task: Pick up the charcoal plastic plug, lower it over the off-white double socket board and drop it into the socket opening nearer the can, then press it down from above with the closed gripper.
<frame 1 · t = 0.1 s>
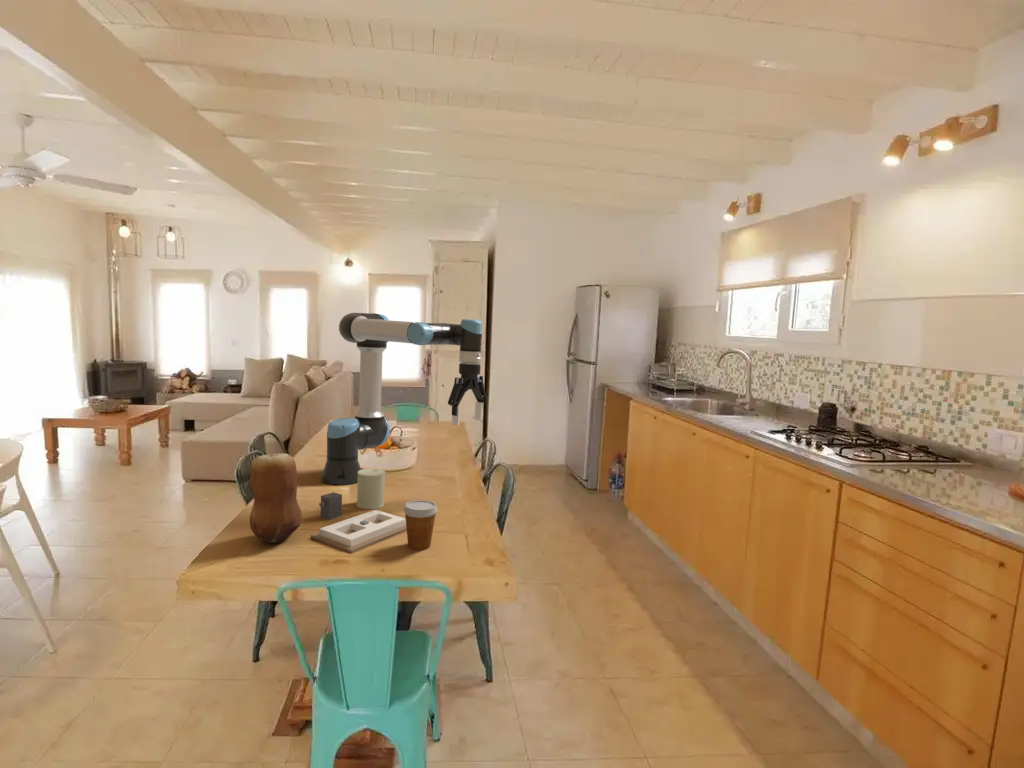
hand: (467, 422, 207), 28 cm above the table, tool pointing down, fingers open, 13 cm apart
plug: (331, 516, 184), on the table
butternut squash: (275, 541, 163), on the table
socket board: (364, 532, 172), on the table
disposable coffee cup: (419, 546, 165), on the table
can: (370, 505, 197), on the table
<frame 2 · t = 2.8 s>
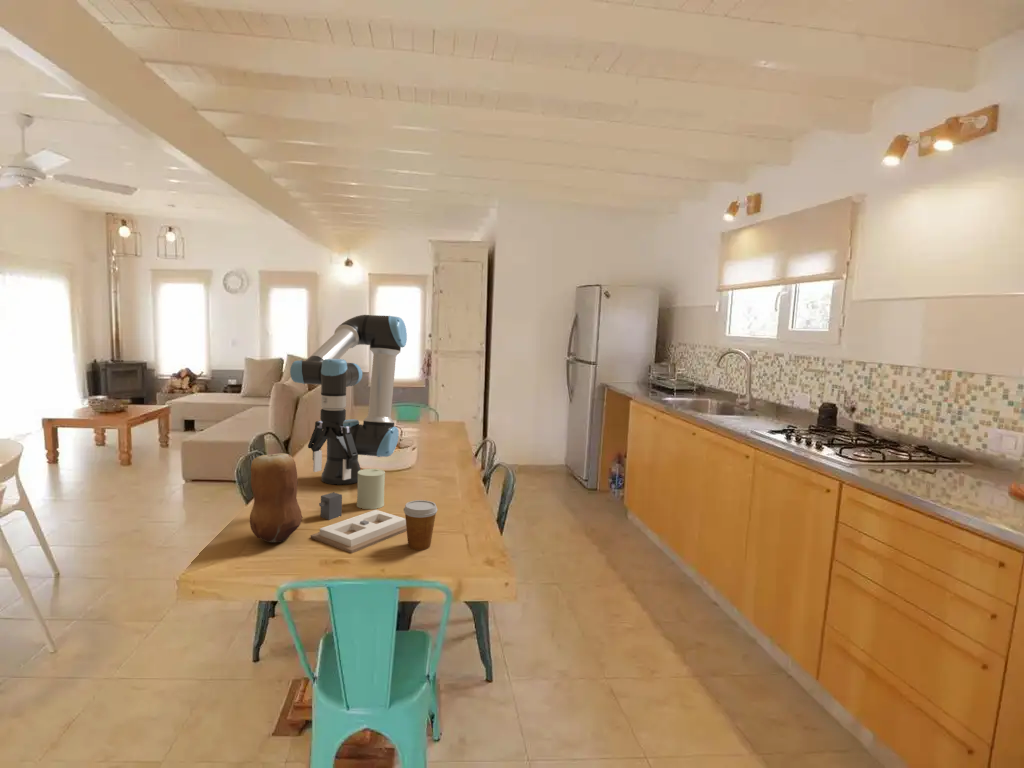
hand: (331, 475, 182), 14 cm above the table, tool pointing down, fingers open, 13 cm apart
nothing on the table moved.
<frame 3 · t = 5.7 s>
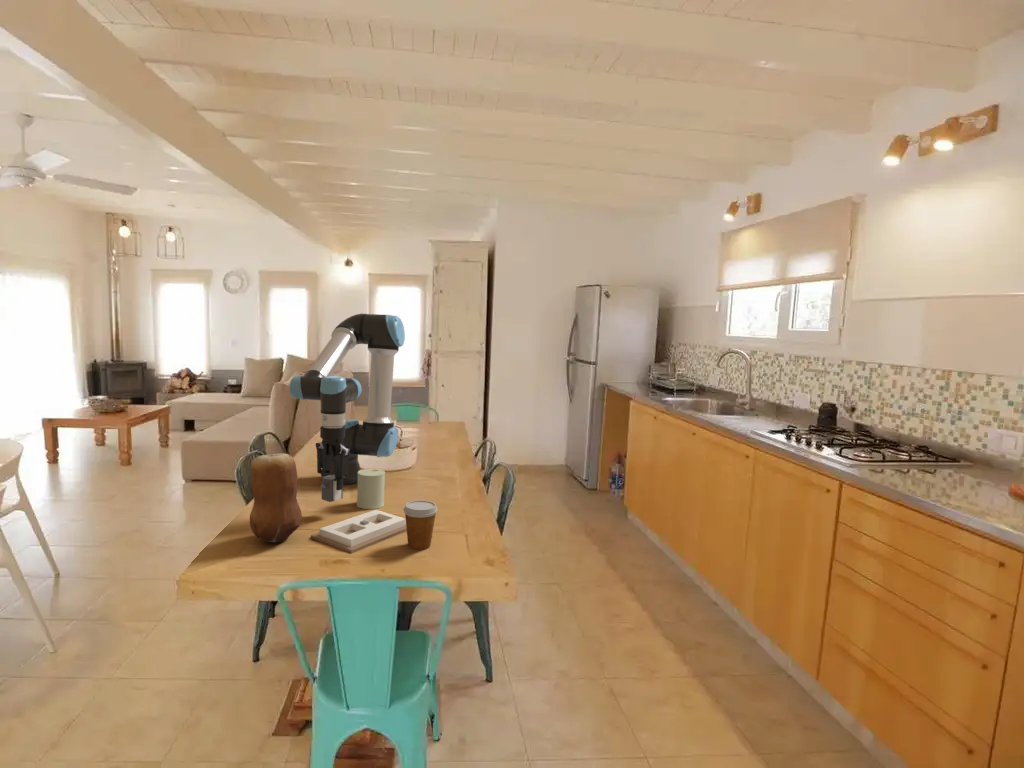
hand: (332, 497, 184), 6 cm above the table, tool pointing down, fingers closed on plug, 4 cm apart
plug: (332, 498, 184), point 6 cm above the table, touching gripper
everything else where it was.
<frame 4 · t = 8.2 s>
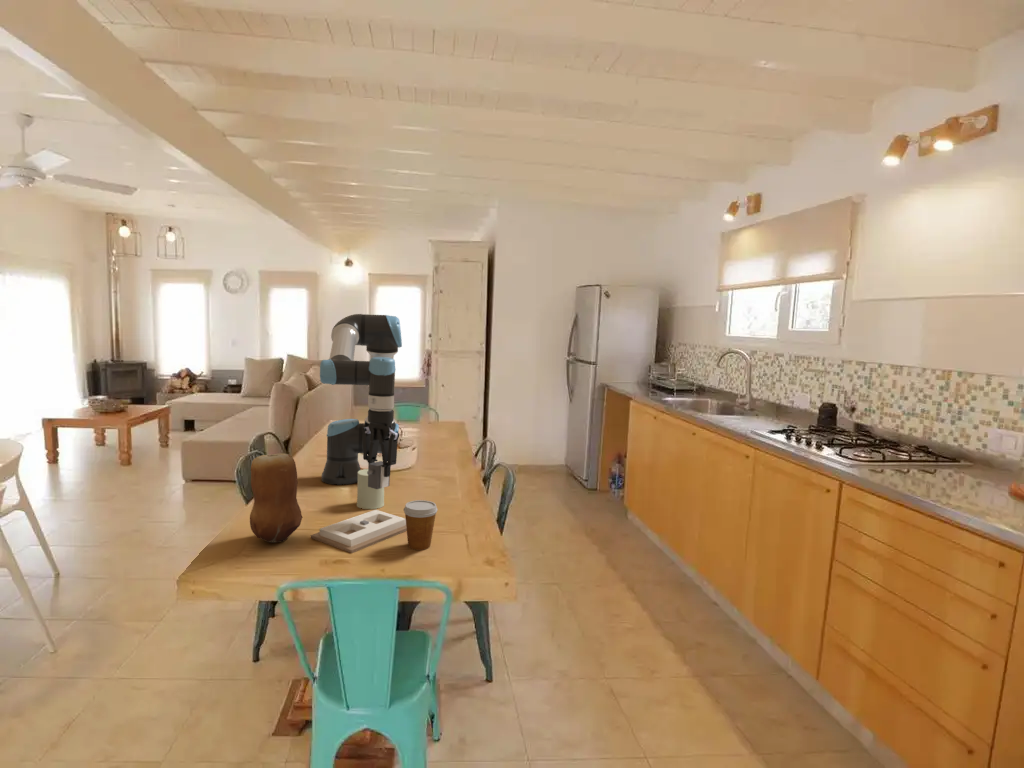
hand: (378, 485, 175), 13 cm above the table, tool pointing down, fingers closed on plug, 4 cm apart
plug: (378, 486, 175), point 13 cm above the table, touching gripper
everything else where it was.
when the fingers open (4 cm above the table, at t = 10.8 s): plug drops 2 cm, resting on socket board.
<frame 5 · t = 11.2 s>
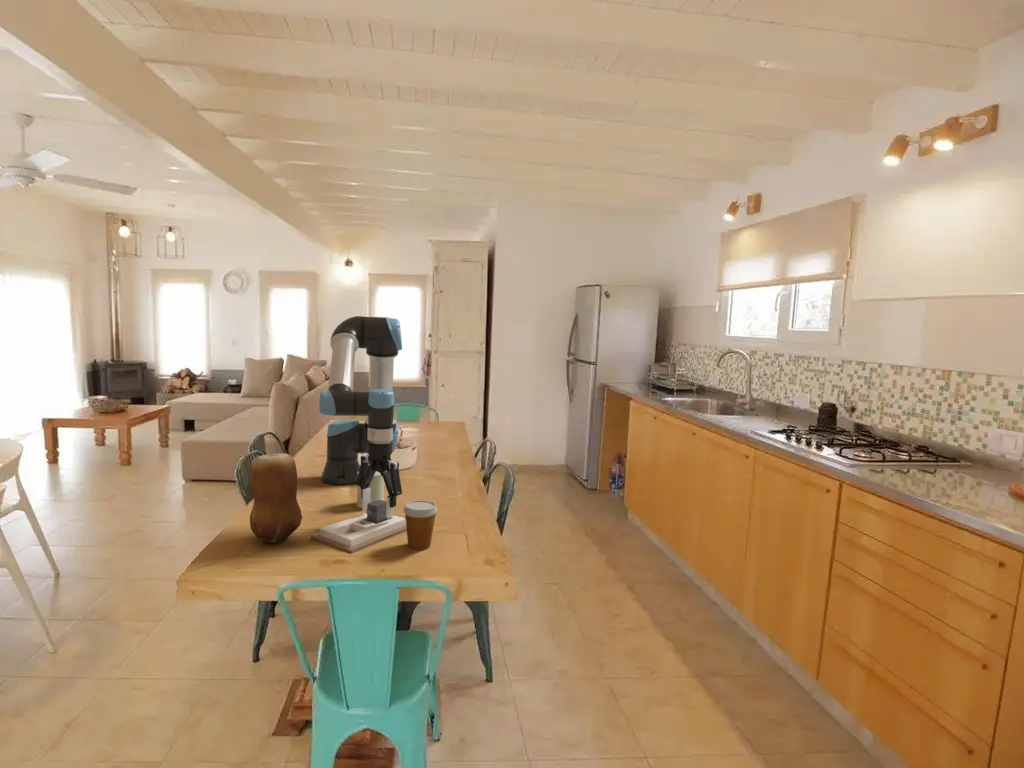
hand: (378, 513, 176), 5 cm above the table, tool pointing down, fingers open, 9 cm apart
plug: (377, 525, 177), point 1 cm above the table, touching socket board
everything else where it was.
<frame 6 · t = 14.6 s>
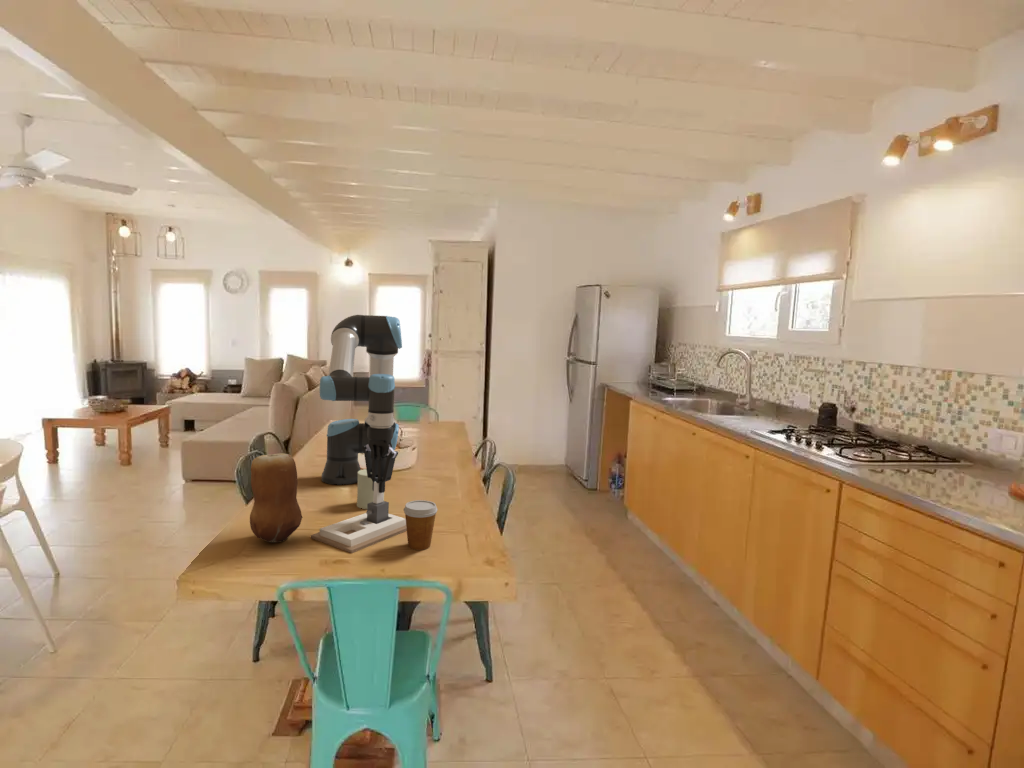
hand: (378, 502, 176), 8 cm above the table, tool pointing down, fingers closed
plug: (377, 525, 177), point 1 cm above the table, touching gripper, socket board
everything else where it was.
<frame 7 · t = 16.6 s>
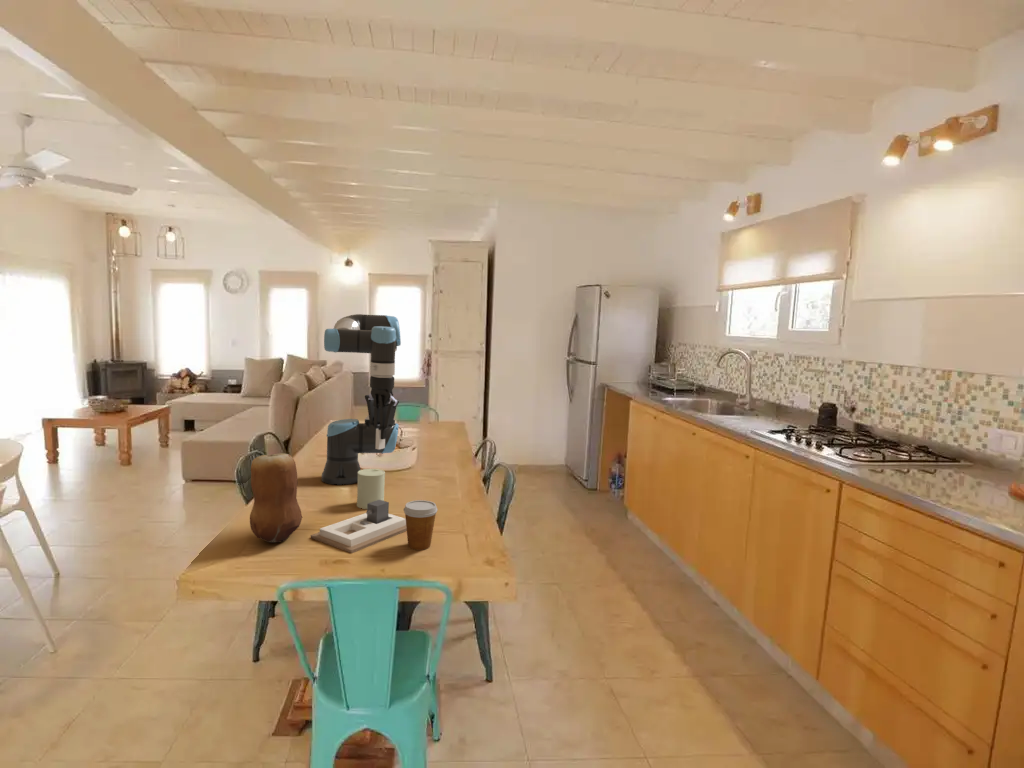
hand: (380, 448, 186), 22 cm above the table, tool pointing down, fingers closed
plug: (377, 525, 177), point 1 cm above the table, touching socket board
everything else where it was.
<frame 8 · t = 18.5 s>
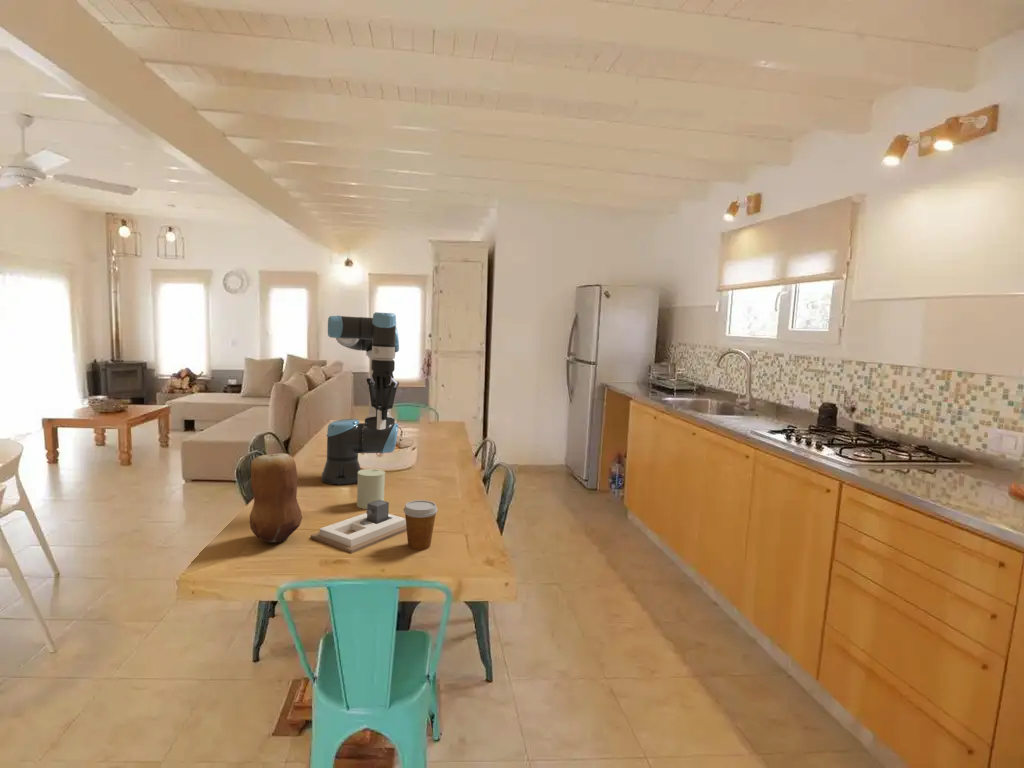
hand: (381, 428, 195), 26 cm above the table, tool pointing down, fingers closed
nothing on the table moved.
at the end: plug 0.1 cm from the target spot on the socket board, point 0.8 cm above the socket board's base; plug tilted 0°; the gripper is holding nothing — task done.
